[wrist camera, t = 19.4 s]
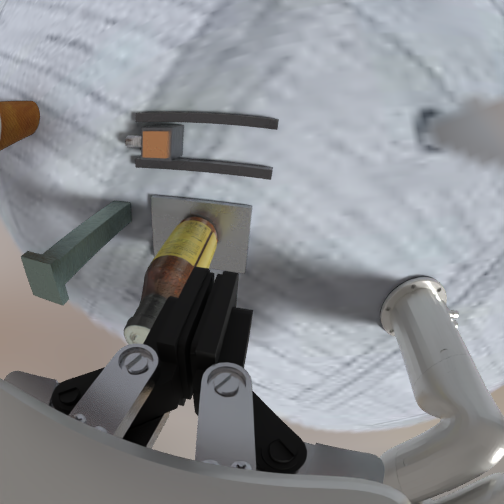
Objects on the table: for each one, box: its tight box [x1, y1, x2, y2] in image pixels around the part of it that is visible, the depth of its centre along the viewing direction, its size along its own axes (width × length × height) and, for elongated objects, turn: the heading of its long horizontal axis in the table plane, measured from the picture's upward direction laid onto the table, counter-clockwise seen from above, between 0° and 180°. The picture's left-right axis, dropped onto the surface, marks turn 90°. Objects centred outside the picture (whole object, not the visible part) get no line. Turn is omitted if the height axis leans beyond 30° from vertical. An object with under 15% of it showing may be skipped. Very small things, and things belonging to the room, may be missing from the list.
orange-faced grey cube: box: [125, 125, 184, 161], centre depth 32 cm, size 7×4×4 cm, turn 84°
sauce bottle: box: [124, 217, 218, 345], centre depth 31 cm, size 7×6×20 cm
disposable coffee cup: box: [0, 101, 40, 150], centre depth 28 cm, size 10×10×12 cm
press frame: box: [21, 112, 279, 305], centre depth 29 cm, size 24×22×19 cm
